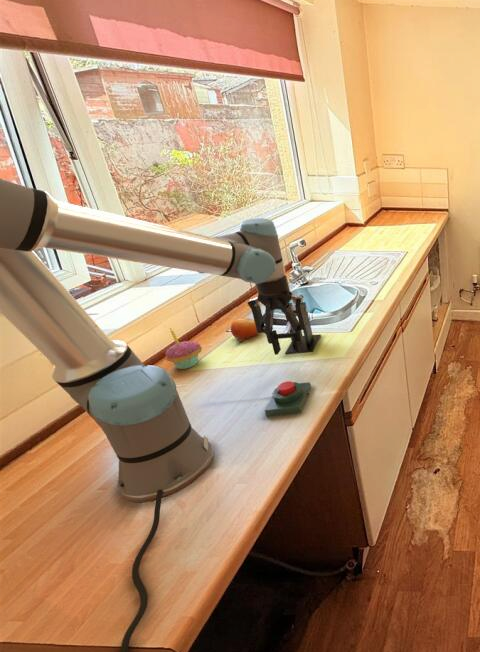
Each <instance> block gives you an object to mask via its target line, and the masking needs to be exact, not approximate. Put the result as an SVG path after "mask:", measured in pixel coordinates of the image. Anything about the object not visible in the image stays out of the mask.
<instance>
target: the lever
mask: <svg viewBox="0 0 480 652" xmlns="http://www.w3.org/2000/svg"><path fill="white" fill-rule="evenodd" d="M291 309H292V311H293V312H294V314H295V316H296V317H298V316H297V312H296V307H295V304H292V307H291ZM291 327H292V326H291V325H290V323H289V321H288V324H287V323H286V325H285V328H284V330H283V333H277V334H275V336H274V337H275V339H278V340H281V339H282V340H283V339H291V338H293V336H292V333H290V330H291Z"/></svg>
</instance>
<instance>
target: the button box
mask: <svg viewBox="0 0 480 652" xmlns="http://www.w3.org/2000/svg"><path fill="white" fill-rule="evenodd" d="M292 382H293V383H294V387H295V391H294V392H292V393H291V394H288V395H280V394H279V390H278V386H279V385H280V384H278V386H277V387H276V388H274V389H273V391H272V393H271V394H272V396H271V398H270V399H269V401H268V403H267V405H266V407H265V409H264V412H265V416H266V418H270V417H279V416H288V415H289V416H290V415H296V414H302V412H303V410H304V408H305V405H306V402H307V401H308V398H309V396H310V391H311V388H312V385H311V382H310V381H309V382H297V381H292Z"/></svg>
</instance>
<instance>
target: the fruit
mask: <svg viewBox="0 0 480 652" xmlns="http://www.w3.org/2000/svg"><path fill="white" fill-rule="evenodd" d="M230 333H231V334H232V336H233V337H234V338H235V339H237V340H238V341H240V342H239V343H240V344H242V343H243V341H246V340H250V339H252V338H254V337H255V336H257V335H258V334H259V333H258V332H257V329H256V325H255V321H254V318H253V319H252V318H248V317H240V318H238V319H235V320H233V321H232V322H231V325H230Z"/></svg>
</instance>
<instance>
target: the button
mask: <svg viewBox="0 0 480 652" xmlns="http://www.w3.org/2000/svg"><path fill="white" fill-rule="evenodd" d="M293 382H294V381H291V380H290V381H284V382H281V383H280V384H278V385H279V386H277V387H278V390H279V394H280V395H288V394H291V393H292V392H294V391H295V387H294V383H293Z"/></svg>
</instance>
